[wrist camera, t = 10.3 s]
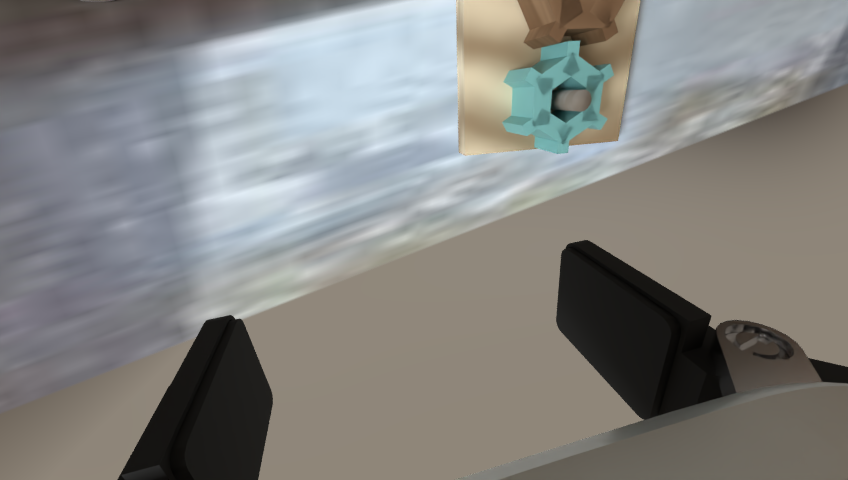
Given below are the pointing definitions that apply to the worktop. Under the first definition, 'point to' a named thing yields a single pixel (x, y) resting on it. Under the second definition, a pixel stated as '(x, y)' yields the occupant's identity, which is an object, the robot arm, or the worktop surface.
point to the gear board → (505, 50)
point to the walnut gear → (569, 20)
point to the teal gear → (535, 96)
